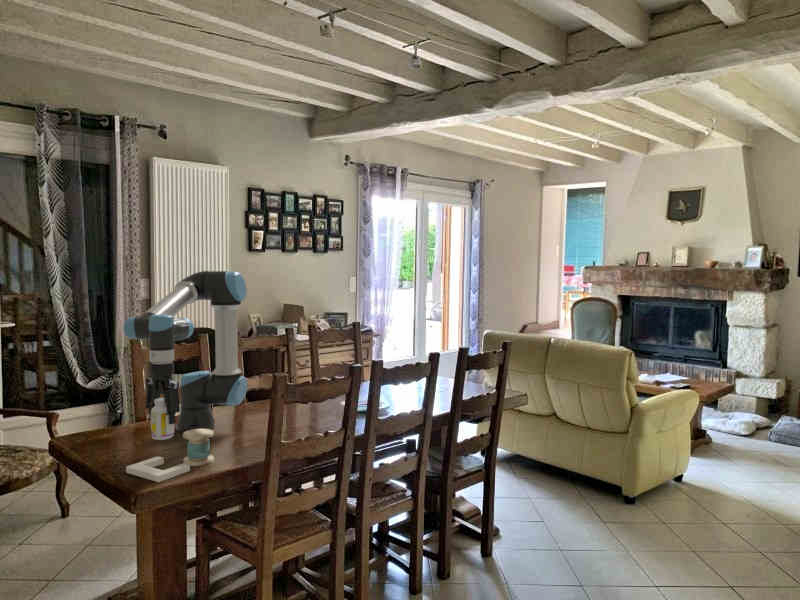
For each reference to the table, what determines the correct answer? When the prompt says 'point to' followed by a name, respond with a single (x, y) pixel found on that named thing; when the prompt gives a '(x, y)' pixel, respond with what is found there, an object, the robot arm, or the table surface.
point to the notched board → (154, 474)
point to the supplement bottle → (159, 420)
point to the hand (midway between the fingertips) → (162, 431)
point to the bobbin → (198, 447)
